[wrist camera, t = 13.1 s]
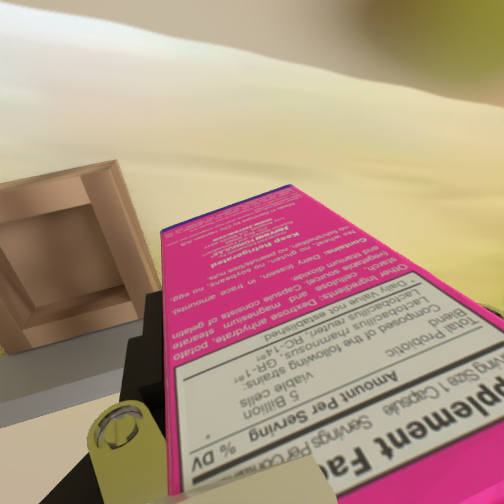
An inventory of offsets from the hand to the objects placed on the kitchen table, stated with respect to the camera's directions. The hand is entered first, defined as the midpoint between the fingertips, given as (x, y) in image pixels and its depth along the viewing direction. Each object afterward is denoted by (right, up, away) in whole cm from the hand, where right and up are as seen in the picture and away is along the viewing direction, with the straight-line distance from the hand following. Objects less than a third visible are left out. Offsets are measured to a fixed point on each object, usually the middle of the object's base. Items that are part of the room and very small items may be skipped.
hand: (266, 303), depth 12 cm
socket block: (-15, +2, +15) cm, 21 cm away
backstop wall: (-13, -3, +18) cm, 23 cm away
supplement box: (-1, +1, +3) cm, 3 cm away
